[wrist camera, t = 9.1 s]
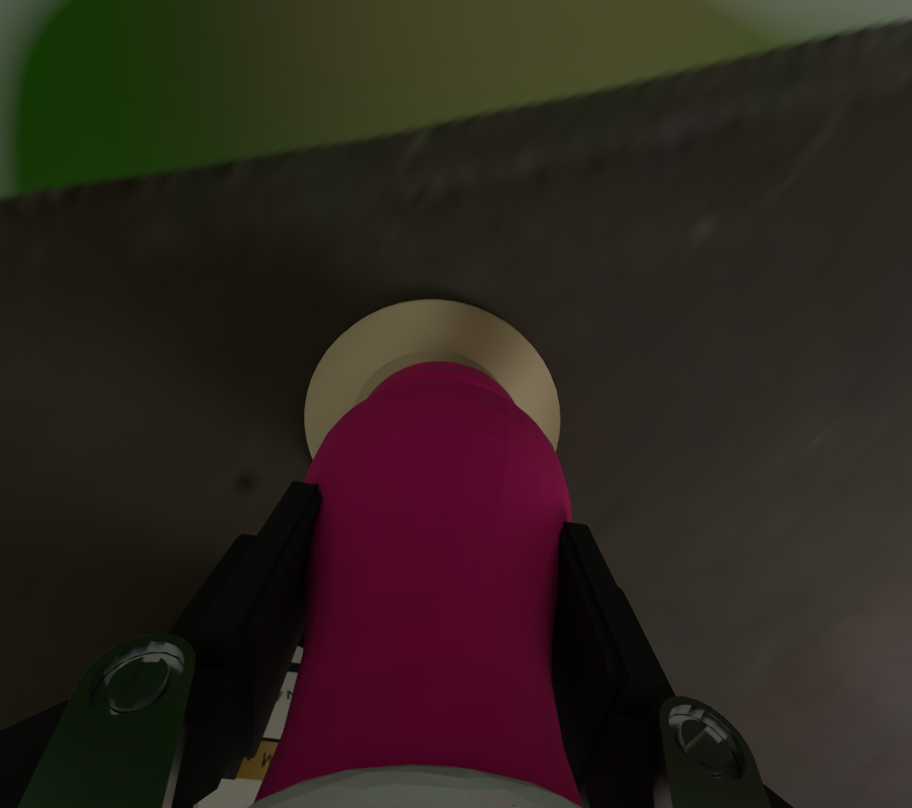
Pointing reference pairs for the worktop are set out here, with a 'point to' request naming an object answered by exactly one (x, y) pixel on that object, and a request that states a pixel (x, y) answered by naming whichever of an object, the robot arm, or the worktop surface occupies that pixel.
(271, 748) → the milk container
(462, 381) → the pepper mill
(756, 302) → the worktop surface
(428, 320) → the plate
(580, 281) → the worktop surface
